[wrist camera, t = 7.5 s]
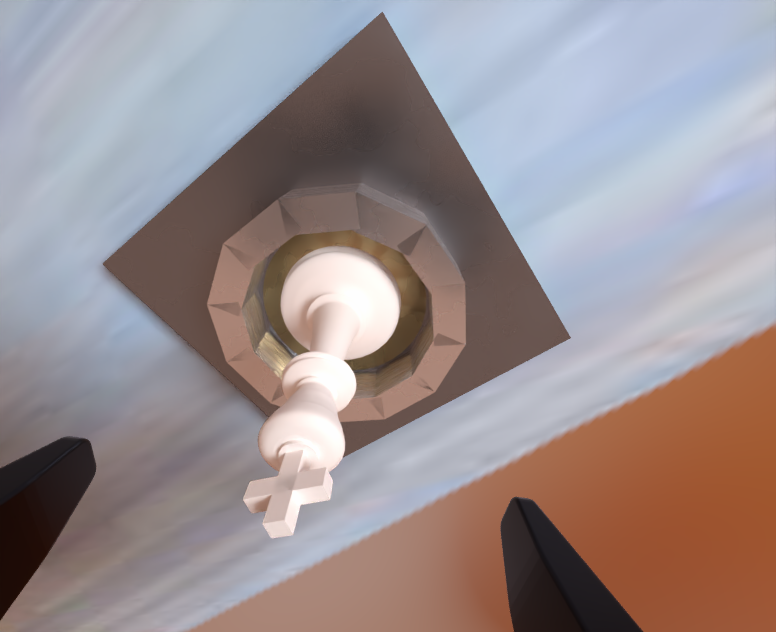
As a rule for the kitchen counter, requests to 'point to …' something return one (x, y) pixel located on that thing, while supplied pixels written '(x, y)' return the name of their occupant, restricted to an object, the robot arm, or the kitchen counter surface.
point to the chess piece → (320, 375)
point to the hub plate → (347, 244)
